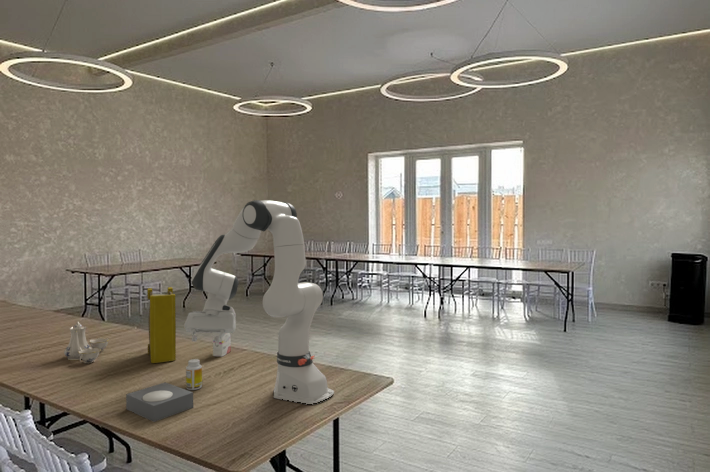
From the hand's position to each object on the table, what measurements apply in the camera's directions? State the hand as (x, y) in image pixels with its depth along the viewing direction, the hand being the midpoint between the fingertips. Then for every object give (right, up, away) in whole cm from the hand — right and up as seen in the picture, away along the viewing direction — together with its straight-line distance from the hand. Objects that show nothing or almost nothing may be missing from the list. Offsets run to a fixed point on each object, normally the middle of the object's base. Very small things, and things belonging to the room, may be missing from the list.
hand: (205, 341), depth 185 cm
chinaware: (-61, -13, +26) cm, 68 cm away
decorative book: (-28, -13, +27) cm, 42 cm away
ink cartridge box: (-3, -13, +32) cm, 35 cm away
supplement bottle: (-1, -15, -11) cm, 19 cm away
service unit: (-5, -15, -30) cm, 34 cm away
